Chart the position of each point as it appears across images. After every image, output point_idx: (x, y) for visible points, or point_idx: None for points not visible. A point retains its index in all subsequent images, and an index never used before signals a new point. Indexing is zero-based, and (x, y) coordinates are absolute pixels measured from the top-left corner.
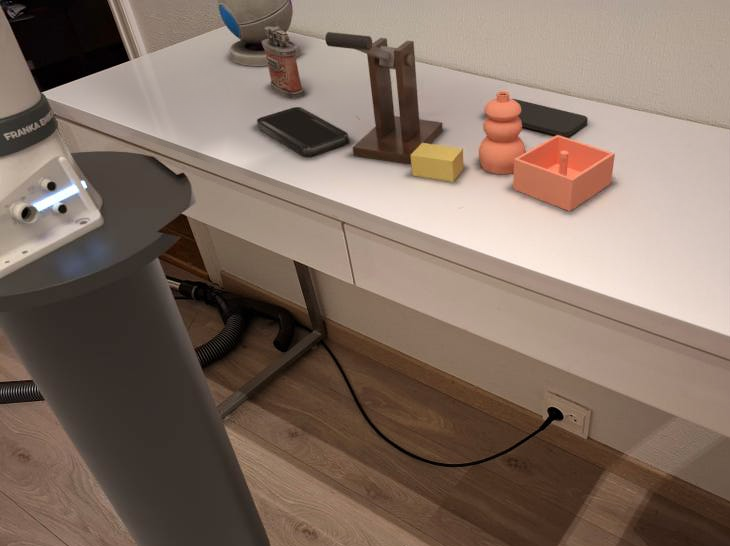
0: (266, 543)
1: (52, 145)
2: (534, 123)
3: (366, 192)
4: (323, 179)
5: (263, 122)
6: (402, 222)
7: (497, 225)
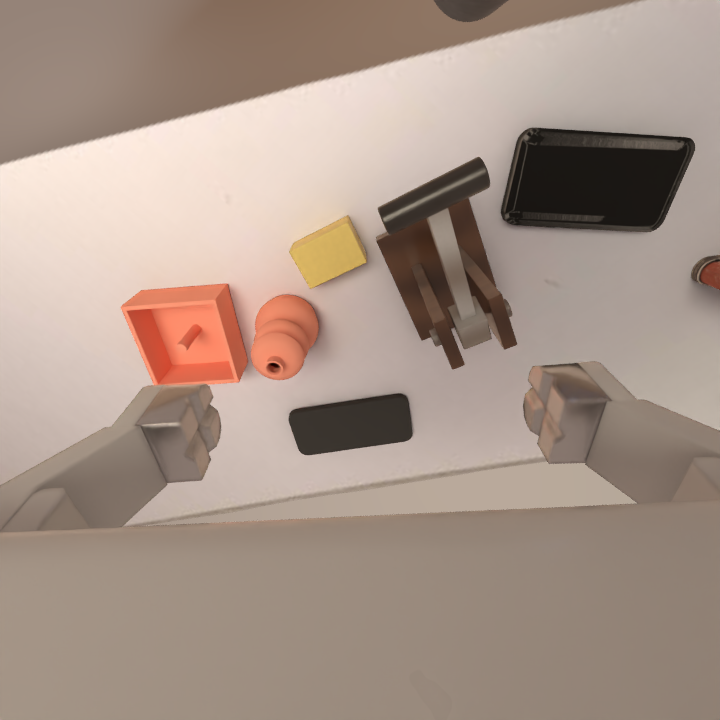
0: (444, 6)
1: None
2: (334, 410)
3: (356, 125)
4: (442, 100)
5: (676, 145)
6: (243, 103)
7: (160, 201)
